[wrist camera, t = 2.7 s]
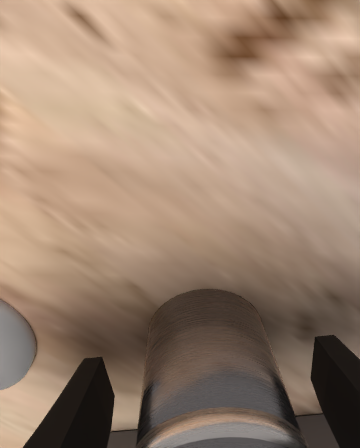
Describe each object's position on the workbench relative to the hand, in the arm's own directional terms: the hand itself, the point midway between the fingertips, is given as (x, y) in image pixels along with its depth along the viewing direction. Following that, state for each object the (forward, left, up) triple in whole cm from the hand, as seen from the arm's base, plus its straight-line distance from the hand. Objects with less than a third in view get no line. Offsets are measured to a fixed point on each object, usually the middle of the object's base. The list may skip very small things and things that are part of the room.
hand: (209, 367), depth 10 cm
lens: (0, 0, -1) cm, 1 cm away
